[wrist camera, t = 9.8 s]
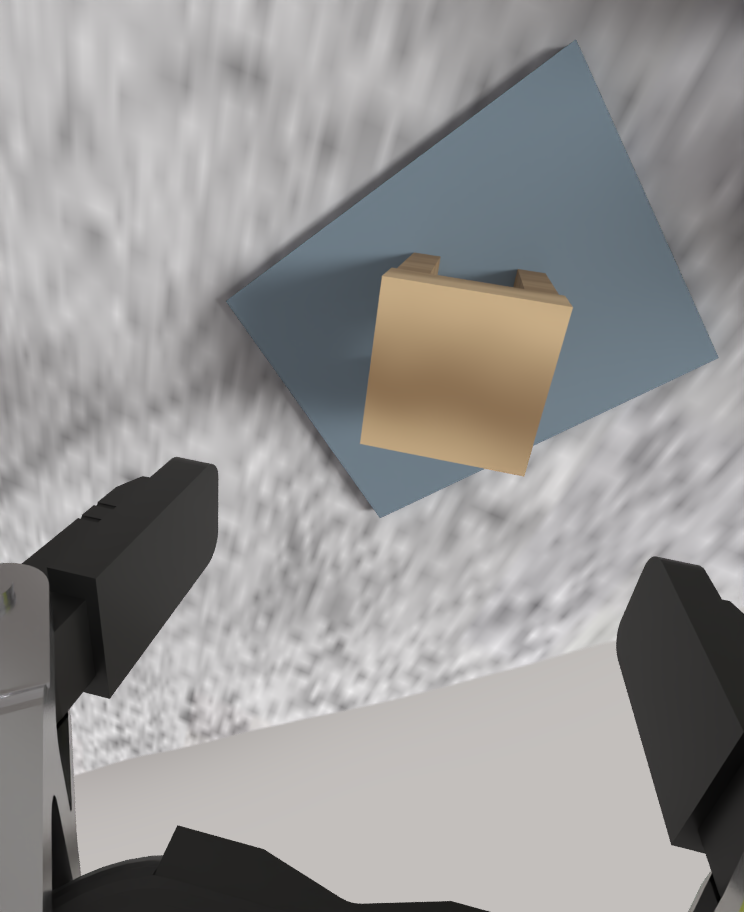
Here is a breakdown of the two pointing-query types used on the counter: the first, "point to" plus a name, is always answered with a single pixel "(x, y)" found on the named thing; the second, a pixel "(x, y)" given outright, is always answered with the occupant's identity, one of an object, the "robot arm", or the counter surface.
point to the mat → (488, 271)
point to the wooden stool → (462, 365)
